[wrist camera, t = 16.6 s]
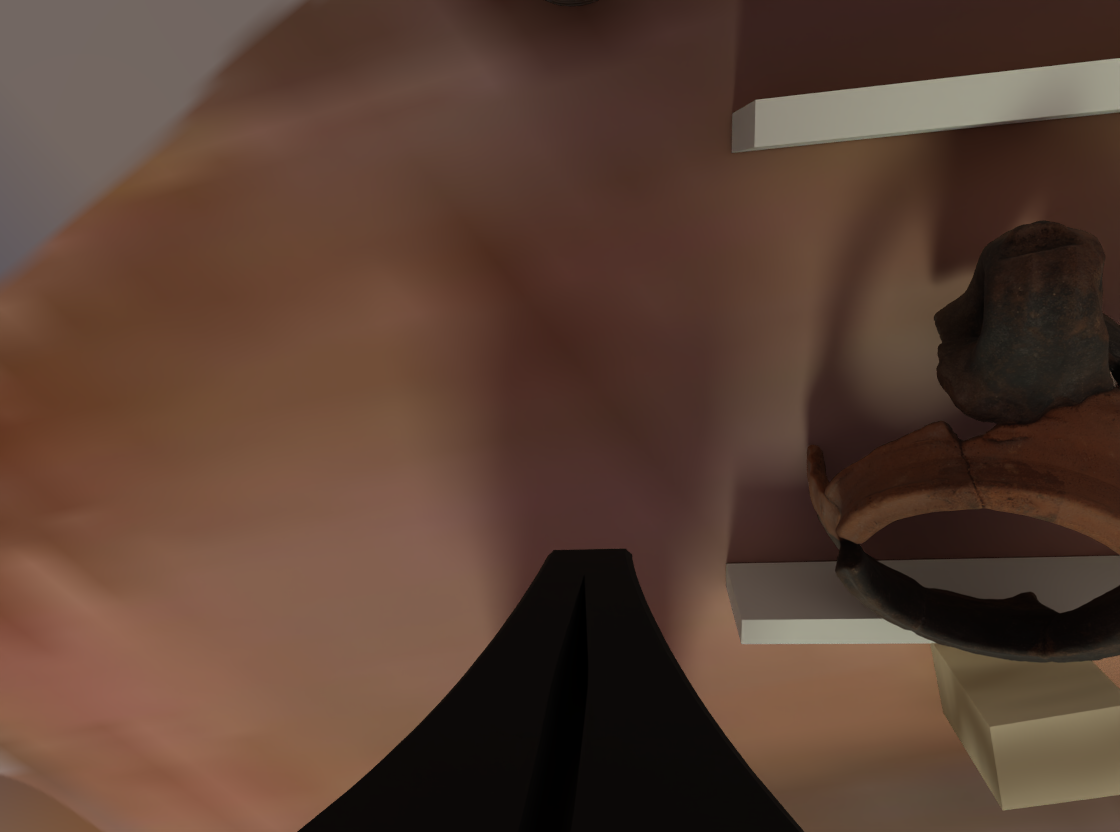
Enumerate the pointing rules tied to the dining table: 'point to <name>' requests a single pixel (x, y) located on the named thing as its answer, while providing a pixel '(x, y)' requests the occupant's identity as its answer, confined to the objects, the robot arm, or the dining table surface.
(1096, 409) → the pottery mug
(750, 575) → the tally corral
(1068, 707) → the birch block
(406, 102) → the dining table surface
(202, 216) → the dining table surface
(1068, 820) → the dining table surface
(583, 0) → the metal tin
